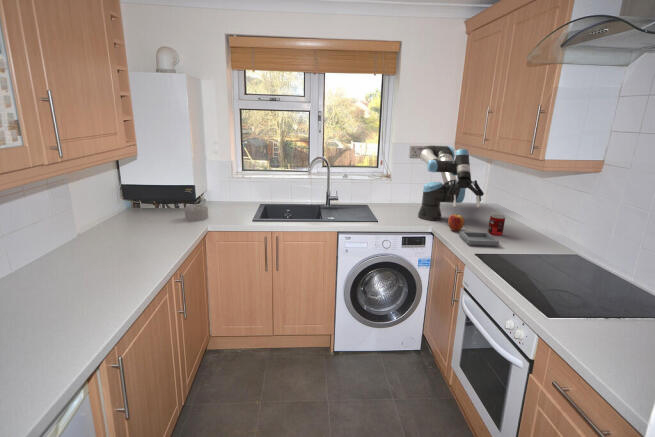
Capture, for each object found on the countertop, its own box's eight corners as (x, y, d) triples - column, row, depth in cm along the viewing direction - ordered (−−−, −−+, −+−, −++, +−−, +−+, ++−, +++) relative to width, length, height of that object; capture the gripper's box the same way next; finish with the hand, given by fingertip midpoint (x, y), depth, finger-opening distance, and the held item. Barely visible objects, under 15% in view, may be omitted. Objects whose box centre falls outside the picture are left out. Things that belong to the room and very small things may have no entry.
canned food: (488, 231, 223) (490, 213, 220) (502, 233, 220) (505, 215, 217) (487, 234, 217) (489, 216, 214) (502, 236, 213) (505, 218, 210)
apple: (443, 229, 223) (445, 213, 221) (452, 227, 229) (454, 211, 226) (457, 233, 217) (459, 217, 214) (466, 230, 222) (468, 214, 220)
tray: (459, 236, 212) (460, 231, 211) (487, 237, 212) (487, 232, 211) (468, 245, 197) (469, 240, 196) (498, 246, 197) (499, 241, 196)
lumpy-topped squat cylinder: (184, 218, 231) (183, 204, 228) (205, 215, 237) (205, 202, 235) (188, 222, 222) (187, 208, 220) (210, 219, 229) (209, 206, 227)
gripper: (444, 169, 221) (446, 203, 214) (487, 171, 220) (491, 204, 213) (441, 175, 228) (443, 207, 221) (482, 176, 227) (486, 209, 220)
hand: (466, 206), depth 217 cm, fingers open, 13 cm apart
